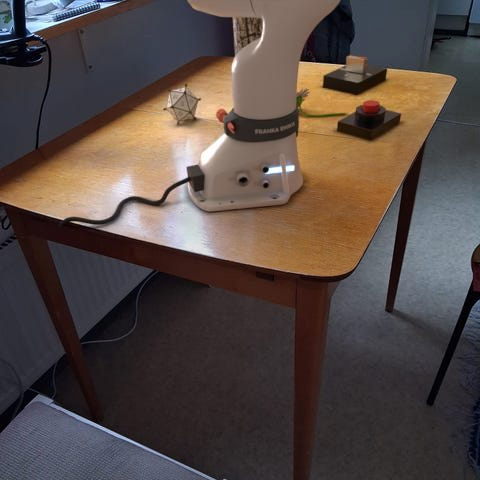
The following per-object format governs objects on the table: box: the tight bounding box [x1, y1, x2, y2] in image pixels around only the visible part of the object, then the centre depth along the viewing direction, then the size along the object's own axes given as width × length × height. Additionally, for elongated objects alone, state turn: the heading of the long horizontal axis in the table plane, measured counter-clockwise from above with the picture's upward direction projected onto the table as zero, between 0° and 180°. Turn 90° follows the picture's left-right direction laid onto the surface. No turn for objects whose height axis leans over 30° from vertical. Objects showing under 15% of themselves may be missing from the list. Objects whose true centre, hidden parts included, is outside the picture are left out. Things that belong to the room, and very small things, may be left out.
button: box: [362, 99, 381, 113], centre depth 107 cm, size 4×4×2 cm
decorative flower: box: [296, 88, 346, 118], centre depth 117 cm, size 8×6×15 cm
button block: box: [336, 104, 402, 141], centre depth 109 cm, size 12×9×4 cm
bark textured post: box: [232, 17, 263, 57], centre depth 107 cm, size 7×7×25 cm
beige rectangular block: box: [345, 54, 368, 74], centre depth 129 cm, size 6×2×4 cm, turn 46°
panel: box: [322, 64, 388, 96], centre depth 131 cm, size 14×11×3 cm
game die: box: [162, 83, 202, 126], centre depth 117 cm, size 9×8×10 cm
